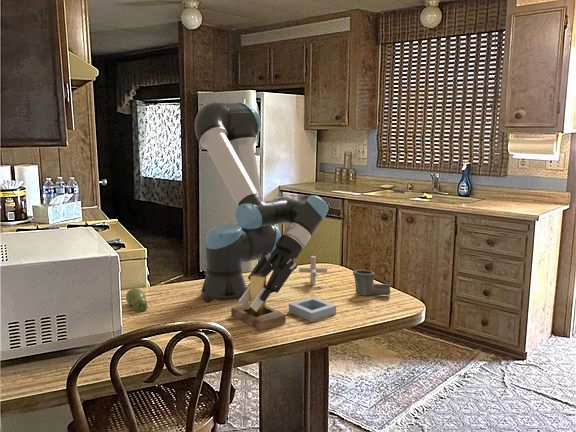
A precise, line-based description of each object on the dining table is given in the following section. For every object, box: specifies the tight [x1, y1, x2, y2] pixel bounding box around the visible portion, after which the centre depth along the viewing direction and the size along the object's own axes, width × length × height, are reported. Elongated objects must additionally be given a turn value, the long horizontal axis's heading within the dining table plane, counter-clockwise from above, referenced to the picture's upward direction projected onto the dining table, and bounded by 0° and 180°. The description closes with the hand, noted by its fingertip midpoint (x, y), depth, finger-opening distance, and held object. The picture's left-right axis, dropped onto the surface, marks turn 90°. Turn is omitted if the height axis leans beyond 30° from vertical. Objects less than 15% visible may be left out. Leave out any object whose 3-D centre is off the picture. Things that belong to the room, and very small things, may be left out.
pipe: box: [352, 269, 391, 297], centre depth 182 cm, size 6×13×8 cm, turn 79°
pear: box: [125, 288, 148, 313], centre depth 168 cm, size 6×5×10 cm
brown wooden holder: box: [230, 302, 287, 332], centre depth 156 cm, size 14×9×4 cm, turn 40°
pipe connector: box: [298, 255, 328, 286], centre depth 193 cm, size 10×10×10 cm
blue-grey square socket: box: [288, 296, 337, 322], centre depth 161 cm, size 10×10×4 cm
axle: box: [249, 273, 267, 317], centre depth 154 cm, size 5×5×13 cm
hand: (247, 306), depth 152 cm, fingers closed on axle, 5 cm apart
